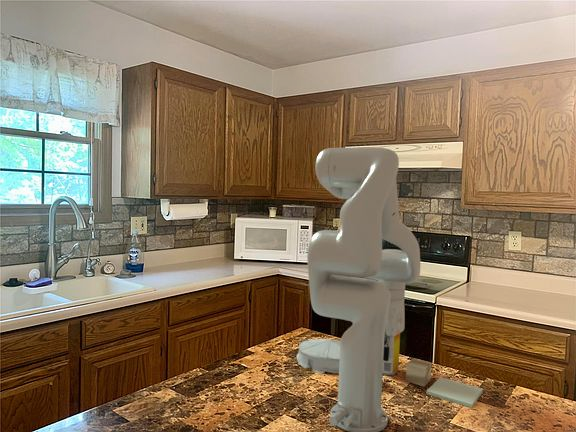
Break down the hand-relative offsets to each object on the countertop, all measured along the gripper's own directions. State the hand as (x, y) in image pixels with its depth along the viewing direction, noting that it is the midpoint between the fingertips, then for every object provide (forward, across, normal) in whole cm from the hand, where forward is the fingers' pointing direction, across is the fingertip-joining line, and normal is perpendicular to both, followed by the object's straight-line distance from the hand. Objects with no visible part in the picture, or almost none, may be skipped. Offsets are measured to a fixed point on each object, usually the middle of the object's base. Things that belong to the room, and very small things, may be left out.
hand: (387, 355), depth 125 cm
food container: (+5, -4, +17) cm, 18 cm away
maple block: (+5, 0, -9) cm, 10 cm away
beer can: (+5, 0, 0) cm, 5 cm away
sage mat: (+5, -1, -19) cm, 20 cm away
